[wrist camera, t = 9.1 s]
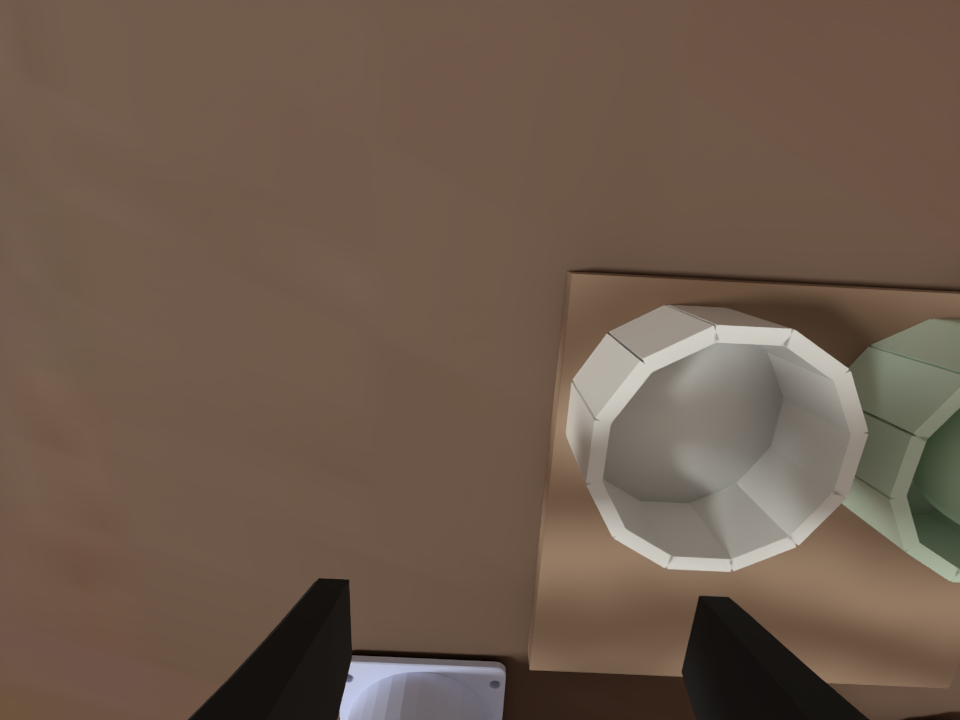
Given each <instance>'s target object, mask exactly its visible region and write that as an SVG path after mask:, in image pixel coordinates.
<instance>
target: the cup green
mask: <svg viewBox="0 0 960 720" xmlns="http://www.w3.org/2000/svg"><path fill="white" fill-rule="evenodd" d="M848 369H849V371H851V374H852V377H853V380H854V384H855V387H856V391H857V394H858V398H859V401H860V404H861V408H862V411H863V415H864V418H865V421H866V425H867V428H868V432H865V433H867V434H868V437H867V440H866V443H865V446H864V449H863V452H862V455H861V458H860V461H859V464H858V467H857V471H856V474H855V477H854V480H853V483H852V486H851V489H850V492H849V495H848V496H846V495H843V496H845V497H846V499H845V500H844V501H843V502H842V504H843V505H844V506H845V507H847V508H848V509H849V510H851V511H852V512H853V513H855V514H856V515H857V516H859V517H860V518H861V519H863V520H864V521H865V522H866V523H868V524H869V525H870V526H872V527H873V528H874V529H876V530H877V531H878V532H880V533H881V534H882V535H884V536H885V537H886V538H887V539H889V540H890V541H891V542H893V543H894V544H895V545H897V546H898V547H899V548H901V549H902V550H903V551H905V552H906V553H907V554H909V555H910V556H912V557H914V558H915V559H917V560H918V561H920V562H921V563H923V564H924V565H926V566H927V567H929V568H930V569H932V570H933V571H935V572H936V573H938V574H939V575H941V576H942V577H944V578H945V579H947V580H948V581H951V582H960V525H959V524H958V523H956V522H954V521H953V520H951V519H950V518H948V517H947V516H945V515H944V514H943V513H941V512H940V511H939V510H938V509H937V508H935V507H934V506H933V505H932V504H931V503H930V502H929V501H928V500H927V499H926V498H925V497H924V495H923V494H922V493H921V492H920V491H919V489H918V487H917V486H916V484H915V483H914V481H913V477H914V474H915V471H916V468H917V466H918V463H919V460H920V457H921V455H922V452H923V449H924V447H925V444H926V441H927V439H928V438H929V437H930V436H931V435H932V434H933V433H934V432H935V431H936V430H937V429H938V428H939V427H941V426H942V425H943V424H944V423H945V422H946V421H947V420H948V419H949V418H950V417H951V416H952V415H953V414H954V413H955V412H956V411H957V410H958V409H959V408H960V320H954V319H935V318H933V319H929V320H927V321H924V322H922V323H920V324H917V325H915V326H913V327H911V328H908V329H906V330H904V331H901V332H899V333H897V334H895V335H892V336H890V337H888V338H885V339H883V340H881V341H879V342H876V343H874V344H872V345H871V347H868V348H867V349H866V350H865V351H864V352H863V353H862V354H861V355H860V356H859V357H858V358H857V359H856V361H855V362H854V363H853V364H852V365H851V366H850V367H849V368H848Z"/></svg>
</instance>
